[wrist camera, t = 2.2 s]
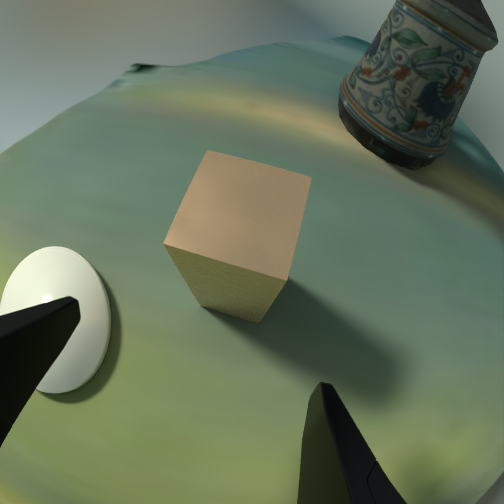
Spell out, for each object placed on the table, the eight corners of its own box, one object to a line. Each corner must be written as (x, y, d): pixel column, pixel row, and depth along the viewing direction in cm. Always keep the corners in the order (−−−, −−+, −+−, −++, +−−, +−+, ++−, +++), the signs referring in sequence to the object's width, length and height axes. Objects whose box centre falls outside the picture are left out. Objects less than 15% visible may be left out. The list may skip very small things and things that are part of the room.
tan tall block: (258, 323, 23) (287, 280, 11) (200, 305, 23) (163, 243, 11) (274, 267, 25) (311, 177, 12) (219, 251, 25) (207, 150, 13)
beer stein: (362, 172, 29) (465, -28, 6) (311, 74, 36) (345, -70, 13) (455, 172, 31) (551, 50, 8) (397, 84, 38) (447, -27, 15)
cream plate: (141, 313, 22) (136, 311, 21) (60, 421, 18) (53, 423, 17) (57, 226, 25) (51, 221, 24) (-9, 320, 20) (-16, 318, 19)
